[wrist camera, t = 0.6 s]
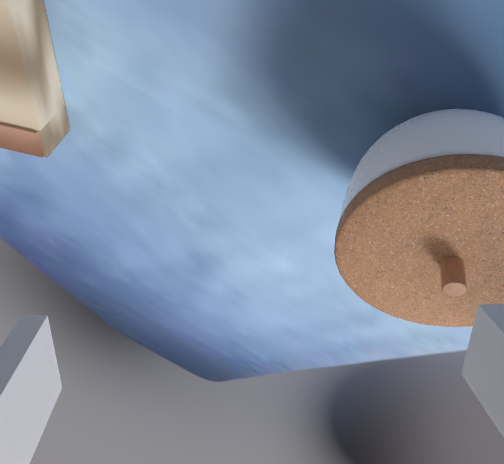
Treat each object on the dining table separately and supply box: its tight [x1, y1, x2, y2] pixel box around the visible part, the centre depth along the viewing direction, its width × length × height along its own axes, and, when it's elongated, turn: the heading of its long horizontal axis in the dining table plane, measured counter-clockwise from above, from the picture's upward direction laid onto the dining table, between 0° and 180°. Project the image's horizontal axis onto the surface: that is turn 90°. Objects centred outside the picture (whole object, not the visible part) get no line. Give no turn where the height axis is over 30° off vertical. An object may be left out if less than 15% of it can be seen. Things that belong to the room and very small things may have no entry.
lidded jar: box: [334, 109, 504, 327], centre depth 24 cm, size 11×11×9 cm
